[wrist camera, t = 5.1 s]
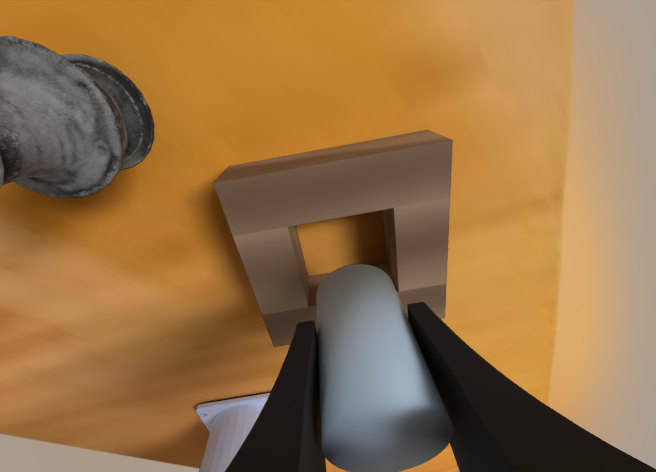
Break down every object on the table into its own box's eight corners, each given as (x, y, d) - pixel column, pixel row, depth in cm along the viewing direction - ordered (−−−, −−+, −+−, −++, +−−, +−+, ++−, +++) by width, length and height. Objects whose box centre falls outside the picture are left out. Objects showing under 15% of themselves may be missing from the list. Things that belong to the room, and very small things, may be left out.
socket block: (427, 288, 21) (444, 318, 18) (278, 313, 21) (274, 346, 18) (427, 130, 16) (452, 140, 13) (229, 166, 16) (213, 183, 13)
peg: (398, 317, 14) (453, 461, 9) (325, 331, 14) (336, 482, 9) (390, 256, 12) (452, 390, 7) (307, 273, 12) (307, 418, 7)
